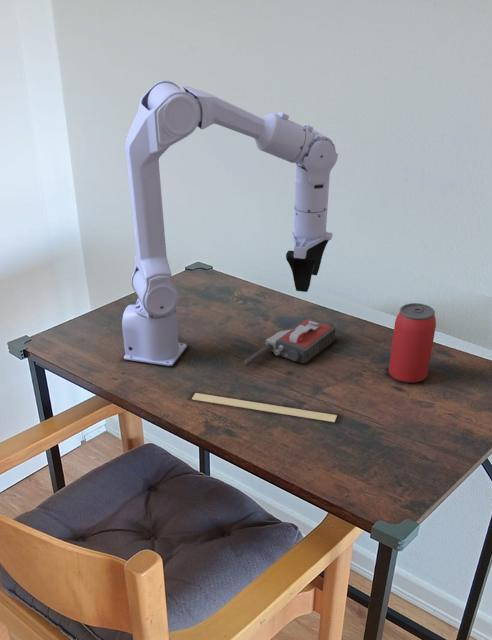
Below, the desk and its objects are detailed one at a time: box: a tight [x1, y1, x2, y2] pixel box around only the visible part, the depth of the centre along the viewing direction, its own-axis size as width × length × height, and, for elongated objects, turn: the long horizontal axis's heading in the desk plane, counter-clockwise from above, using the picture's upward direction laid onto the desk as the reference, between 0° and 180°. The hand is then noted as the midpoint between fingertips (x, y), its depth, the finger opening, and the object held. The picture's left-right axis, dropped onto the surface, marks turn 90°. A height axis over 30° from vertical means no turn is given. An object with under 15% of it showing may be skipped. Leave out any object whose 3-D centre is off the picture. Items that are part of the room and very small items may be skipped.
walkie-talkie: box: [243, 317, 336, 367], centre depth 135 cm, size 9×4×20 cm
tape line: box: [191, 392, 338, 423], centre depth 122 cm, size 24×2×1 cm, turn 71°
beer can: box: [388, 302, 437, 384], centre depth 125 cm, size 7×7×12 cm
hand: (306, 282), depth 138 cm, fingers open, 7 cm apart
